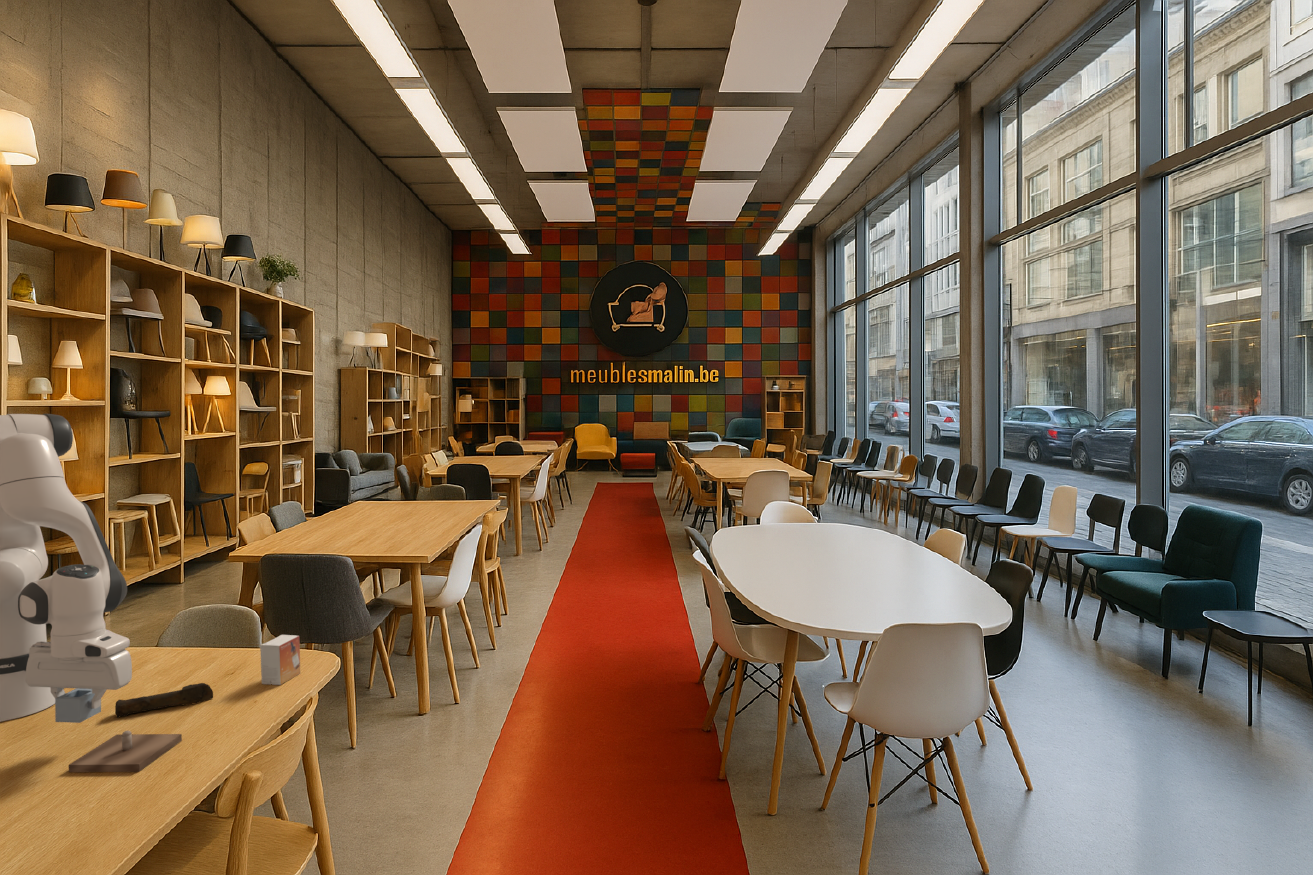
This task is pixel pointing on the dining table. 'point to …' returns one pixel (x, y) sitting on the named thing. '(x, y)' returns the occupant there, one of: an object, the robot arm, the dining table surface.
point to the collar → (74, 706)
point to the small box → (280, 659)
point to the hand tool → (165, 699)
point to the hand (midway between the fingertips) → (78, 706)
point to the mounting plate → (125, 753)
